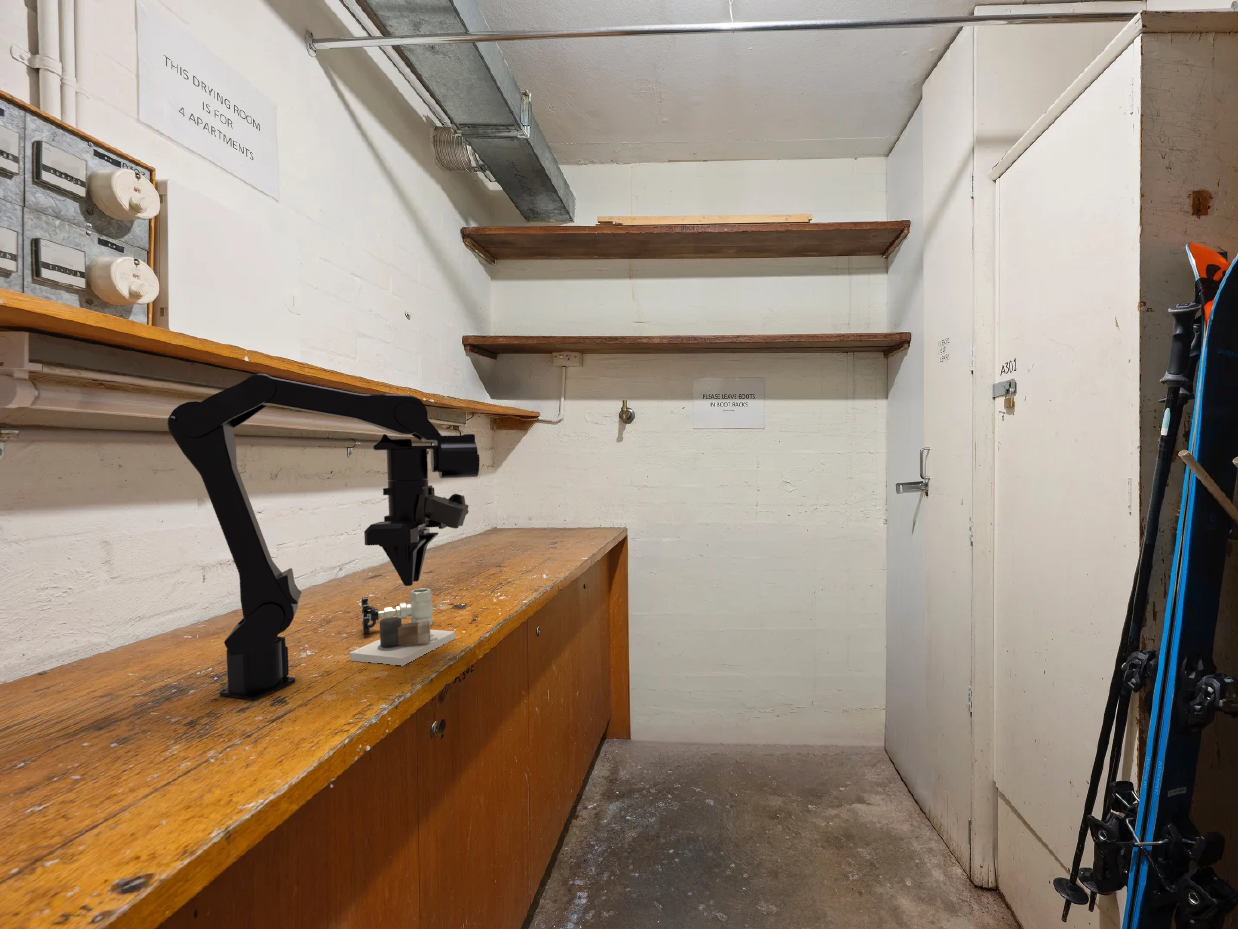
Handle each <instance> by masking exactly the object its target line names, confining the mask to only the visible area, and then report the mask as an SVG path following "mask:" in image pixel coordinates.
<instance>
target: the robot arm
mask: <svg viewBox="0 0 1238 929" xmlns="http://www.w3.org/2000/svg"><path fill="white" fill-rule="evenodd" d="M269 406H273V407H281V408H285V409H292V410H298V411H302V412H309V413H315V414H320V415H326V416H331V417H339V418H344V419H350V420H355V421H359V422H362V423H364V424H367V425H370V426H373V427H375V428H378V429H381V430H383V431H387V432H390V433H392V434H396V435H399V436H412V437H414V438H415V439H417V440H418V441H421V442H422V443H423V442H433V445H413V443H412V439H411V438H394V439H393V438H392V439H391V438H390V437H389V436H388V435H387V434H385V433H383V434H382V435H381V437H380V439H379V441H378V442H376V443H375V444H374V445H373V446H372V449H373V450H374V451H386V470H387V471H386V473H387V487H384V488H382V493H383V494H382V496H387V497H388V498H387V499H388V500H387V501H388V515H387V514H386V515H385V516H383V521H378V522H375V523H372V524H370V525H369V526H368V527H367V528H366V529H365V530H364V531H363V533H364V534H363V536H364V545H365V546H379V547H381V548H382V550H383V551H384V553H385V554H386V556H387V558H388V559H389V561H390V562H391V564H392V566H393V567H394V570H395V571H396V573H397V575H398V576H399V578H400V580H401V582H402V584H403V585H404V586H405V587H412V586H413V584H414V582H419V581H420V579H421V578H420V577H421V574H422V569H423V565H424V561H425V560H424V559H425V557H426V556H425V555H426V553H427V549H428V546H429V544H430V543H431V542H432V541H433V540H434V539H435V538H436V537H437V536H438V535H439V532H430V528H437V529H439V530H443V529H445V528H450V529H459V527H462V526H464V522H465V519H466V516H467V515H468V514H469V504H466V498H465V496H464V495H461V494H459V493H452V494H451V495H450V496H449V497H448V498H447V497H445V496H443V497H442V496H438V495H435V487H433V485H431V484H429V470H428V469H429V468H428V466H429V465H428V450H430V468H431V472H432V473H438V478H439V479H459V478H461V479H462V478H477V477H478V476H479V474H480V473H479V472H480V454H479V451H478V446H477V442H476V435H475V434H474V433H466V434H465V433H464V434H461V435H458V434H457V435H456V434H455V435H442V434H441V432H440V431H439V430H438V428H436V426H434V424H433V423H432V422H431V421H430V420H429V418H428V410H427V407H426V404H424V402H423V401H422V400H421V399H420V398H418V397H417V396H414V395H411V394H399V393H398V394H397V393H395V394H394V393H389V394H388V393H379V394H378V393H376V394H375V393H374V394H372V393H371V394H368V393H367V394H366V393H365V394H364V393H357V392H352V391H351V392H350V391H345V390H341V389H335V388H330V387H325V386H321V385H320V386H319V385H315V384H310V383H305V382H299V381H293V380H287V379H282V378H278V377H273V376H270V374H269V375H268V374H267V373H266V374H265V373H255V374H252V375H250V376H249V377H247V378H246V379H245V380H243V381H241V382H239V383H237V384H235V385H233V386H230V387H227V388H225V389H223V390H221V391H219V392H217V393H214V394H212V395H211V396H208V397H207V398H205V399H204V400H201V401H197V400H196V401H187V402H184V403H181V404H180V405H178V406H177V407H175V408H174V409H172V412H171V413H170V415H169V416H168V417H167V429H168V431H169V433H170V434H171V436H172V438H173V439H174V441H175V442H176V444H177V447H179V449H180V451H181V452H182V454H183V455H184V456H185V457H186V459H187V460H188V461H189V463H190V464H191V465H192V466H193V468H195V470H196V471H197V472H198V474H199V475H200V477H201V479H202V481H203V484H204V487H205V490H206V492H207V495H208V498H209V500H210V502H211V505H212V508H213V511H214V513H215V516H216V518H217V520H218V523H219V525H220V528H221V531H222V533H223V536H224V538H225V541H226V544H227V546H228V549H229V552H230V554H231V557H232V559H233V562H234V564H235V567H236V569H237V572H238V575H239V594H240V604H241V605H240V606H241V611H242V618H241V619H240V620H239V621H238V623H237V624H236V625H235V626H234V627H233V629H232V630H231V632H230V633H229V634H228V635H227V637H226V639H225V640H224V646H225V647H226V651H225V652H226V673H227V675H226V676H227V687H226V688H224V689H221V690H220V691H219V692H218V693H219V696H223V697H228V698H229V697H230V698H237V699H244V700H250V701H254V700H255V701H256V700H257V699H260V698H262V697H264V696H267V695H268V694H271V693H273V692H275V691H278V690H280V689H282V688H285V687H287V686H289V685H290V684H293V683H295V682H296V681H297V680H296V677H293V676H290V675H289V674H290V672H289V671H290V668H289V667H290V666H289V647H288V646H287V645H286V637H285V636H278V635H280V634H281V633H284V631H286V630H287V629H288V628H289V627H290V626H291V624H292V622H293V621H294V618H295V616H296V613H297V611H298V609H299V600H300V598H301V595H302V593H303V592H302V591H301V590H300V589H299V588H298V586H297V585H296V583H295V578H294V571H293V568H292V567H289V568H288V569H286V570H284V571H282V570H280V568H279V567H278V566H277V564H276V563H275V561H274V560H273V559H272V556H271V553H270V551H269V547H268V546H267V543H266V540H265V537H264V536H263V532H262V529H261V527H260V524H259V521H258V519H257V516H256V514H255V510H254V508H253V505H252V503H251V501H250V498H249V495H248V493H247V490H246V488H245V484H244V482H243V479H242V476H241V474H240V472H239V469H238V463H237V461H238V460H237V444H236V437H235V431H234V429H235V428H237V427H238V426H240V425H242V424H243V423H245V422H246V421H248V420H250V419H251V418H252V417H254V416H255V415H257V414H258V413H259V412H261V411H262V410H264V409H266V408H268V407H269Z"/></svg>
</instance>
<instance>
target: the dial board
mask: <svg viewBox="0 0 1238 929" xmlns="http://www.w3.org/2000/svg"><path fill="white" fill-rule="evenodd" d="M430 638H431V639H430V641H429V643H419V644H407V645H398V646H394V647H381V646H380V638H379V639H378V640H375V641H372V642H370V643H368V644H366V645H364V646H362V647H361V646H360V647H359V648H357V649H355V650H352V651H350V652H349V654H348V655H349V661H351V662H352V661H353V662H363V663H368V662H371V663H370V664H377V663H383V664H382V665H386V664H390V665H389V666H395V665H401V666H400V667H405V666H406V665H405V664H407V663H409V662H411V661H412V662H414V661H416V660H417V659H416V658H418V657H420V656H422V657H424V656H425V655H424V654H426V653H427V654H429V653H431V652H432V651H431V650H433V651H435V650H437V649H439V648H441V647H442V646H444V645H446V644H448V643H450V642H451V641H453V640H455V639H456V632H455V631H454V630H453V631H452V630H441V629H430ZM443 644H444V645H443ZM438 647H439V648H438ZM436 648H437V649H436ZM430 651H431V652H430ZM428 652H429V653H428ZM427 654H426V655H427ZM423 655H424V656H423ZM420 658H421V657H420ZM415 659H416V660H415ZM418 659H419V658H418ZM413 660H414V661H413ZM412 662H411V663H412ZM409 664H410V663H409ZM404 665H405V666H404ZM407 665H408V664H407Z"/></svg>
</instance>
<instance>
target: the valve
mask: <svg viewBox="0 0 1238 929" xmlns="http://www.w3.org/2000/svg"><path fill="white" fill-rule="evenodd" d="M431 599H432V589H430V588H424V587H423V588H415V589H412V590H410V592H409V602H410V603H406V602H405V601H403V602H399V605H398V606H395V608H393V607H392V606H390V607H384V608H383V610H380V611H379V608H376V607H375V606H374V605H369V603H368V601H369V597H368V596H364V597H361V606H362V607H361V608H362V609H361V617H362V618H361V619H362V622H361V623H362V626H361V628H362V635H363V636H364V635H370V632H371V631H370V630H371V629H372V628H374V627H375V625H376V623H377V621H378V620H379V618H381V617H384V619H385V618H391V617H394V616H395V617H399V618H401V620H406V619H407V618H408V617H411V618H410V623H417V622H426V621H430V626H432V625H433V615H432V614H433V611H434V605H433V601H432V600H431ZM370 622H372V623H371V624H370Z"/></svg>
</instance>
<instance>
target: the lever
mask: <svg viewBox="0 0 1238 929" xmlns="http://www.w3.org/2000/svg"><path fill="white" fill-rule="evenodd" d="M430 630H431V625H430V621H426V622H417V623H411V622H407V623H402V619H401V618H400V616H399V617H397V616H393V617H391V618H385V617H384V618H382V619H380V620H379V639H380V646H381V647H394V646H398V645H407V644H419V643H429V641H430V639H431V638H430Z"/></svg>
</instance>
